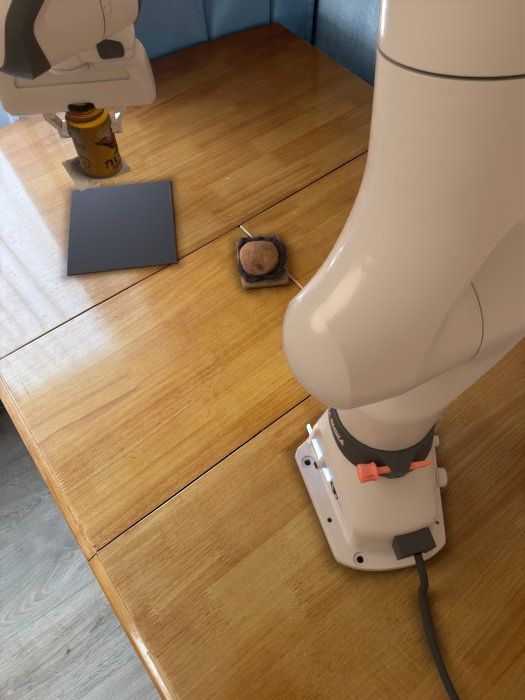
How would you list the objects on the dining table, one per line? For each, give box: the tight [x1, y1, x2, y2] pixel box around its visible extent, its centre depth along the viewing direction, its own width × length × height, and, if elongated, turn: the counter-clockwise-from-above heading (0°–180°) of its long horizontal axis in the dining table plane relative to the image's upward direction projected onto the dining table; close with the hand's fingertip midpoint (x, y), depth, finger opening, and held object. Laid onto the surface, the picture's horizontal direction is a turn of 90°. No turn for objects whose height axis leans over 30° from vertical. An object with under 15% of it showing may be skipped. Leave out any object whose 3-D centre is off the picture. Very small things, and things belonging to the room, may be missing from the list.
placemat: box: [66, 179, 178, 276], centre depth 92 cm, size 20×18×1 cm
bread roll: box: [235, 234, 290, 290], centre depth 86 cm, size 11×8×4 cm
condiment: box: [61, 103, 133, 191], centre depth 76 cm, size 7×8×12 cm
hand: (92, 133), depth 76 cm, fingers closed on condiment, 6 cm apart
